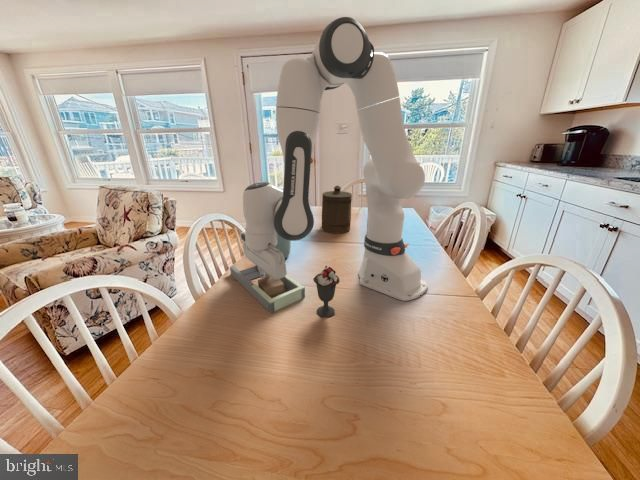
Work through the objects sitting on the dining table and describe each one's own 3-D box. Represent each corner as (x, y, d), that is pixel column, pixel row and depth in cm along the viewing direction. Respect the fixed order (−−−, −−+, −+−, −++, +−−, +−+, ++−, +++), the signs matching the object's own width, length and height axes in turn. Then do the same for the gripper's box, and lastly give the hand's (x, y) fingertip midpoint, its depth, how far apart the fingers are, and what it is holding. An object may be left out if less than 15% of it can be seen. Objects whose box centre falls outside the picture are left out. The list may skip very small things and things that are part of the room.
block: (284, 295, 76) (283, 283, 75) (265, 301, 73) (264, 289, 72) (277, 286, 81) (276, 275, 80) (258, 291, 78) (257, 279, 77)
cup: (287, 262, 96) (286, 237, 92) (268, 260, 98) (266, 235, 94) (293, 253, 103) (292, 230, 100) (275, 251, 105) (273, 228, 101)
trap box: (304, 297, 75) (304, 287, 74) (270, 313, 68) (269, 302, 67) (261, 264, 94) (260, 256, 93) (231, 274, 87) (229, 265, 86)
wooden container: (352, 225, 137) (354, 184, 129) (347, 234, 124) (349, 189, 116) (325, 223, 141) (326, 182, 132) (318, 231, 127) (318, 187, 119)
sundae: (320, 323, 65) (321, 270, 59) (309, 308, 70) (308, 259, 65) (342, 315, 67) (345, 265, 62) (330, 301, 73) (331, 254, 67)
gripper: (290, 247, 69) (292, 290, 75) (255, 227, 84) (259, 265, 89) (270, 253, 66) (273, 298, 71) (237, 232, 80) (242, 270, 85)
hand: (265, 279), depth 80 cm, fingers closed
